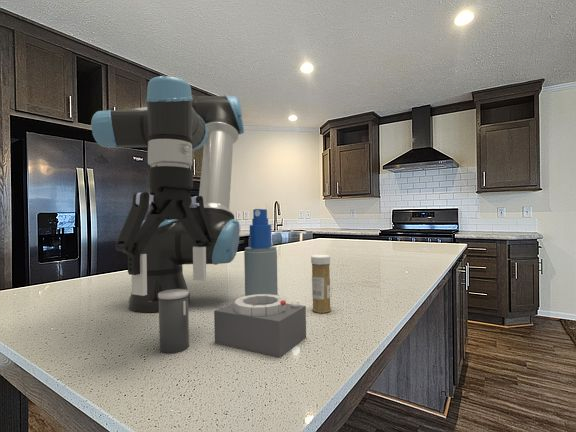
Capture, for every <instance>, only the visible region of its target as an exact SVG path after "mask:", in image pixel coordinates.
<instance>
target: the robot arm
mask: <svg viewBox="0 0 576 432" xmlns="http://www.w3.org/2000/svg"><path fill="white" fill-rule="evenodd" d="M145 101H146V104H147V105H146V106H145V107H136V108H131V109H119V110H112V109H107V110H98V111H96V112H95V113H94V114H93V115H92V118H91V121H90V122H91V123H90V127H91V132H92V133H91V134H92V136H93V139H94V140H95V142H96V143H97V144H98V145H99V146H101V147H103V148H113V149H114V148H115V149H119V148H121V149H122V148H147V164H148V165H149V166H151V167H150V168H148V170H147V172H148V173H147V176H148V177H147V178H148V180H147V181H148V182H147V183H148V185H147V186H148V188H149V189H150V194H149V192H145V191H143V192H134V193H133V196H132V206H131V207H130V211H129V212H128V215H127V217H126V220H125V222H124V224H123V226H122V229H121V232H120V234H119V236H118V238H117V240H116V243H115V245H114V249H115V251H118V252H122V253H123V254H125V255H127V273H128V275H131V293H130V296H129V298H128V299H129V300H128V308H129V310H130V311H134V312H138V313H139V312H140V313H150V312H151V313H156V312H158V313H159V298H158V293H159V292H162V291H165V290H171V289H185V290H188V291H189V289H188V286H187V283H186V279H185V277H184V272H183V265H192V273H193V274H192V278H193V279H192V280H193V281H201V282H206V281H207V265H216V266H217V265H222V264H229V263H231V262H233V261H234V259H235V257H236V255H237V253H238V248H239V243H240V229H241V228H240V222H239V220H237V219H236V218H235V214H234V212H232V211H231V210H230V205H231V204H230V203H231V185H232V184H231V183H232V172H233V171H232V169H233V168H232V167H233V151H234V150H233V149H234V148H233V147H234V144H235V143H236V142H238V140H239V135H242V134H244V132H245V128H244V126H245V125H244V119H243V113H242V112H243V111H242V107H241V102H240V99H239V97H237V96H236V95H227V94H224V95H223V96H221V95H205V96H204V95H198V96H197V95H196V96H195V95H192V87H191V85H190V84H189V82H187V81H186V80H184V79H182V78H180V77H176V76H170V75H160V76H156V77H153V78H150V80H149V81H148V84H147V90H146V99H145ZM202 147H203V151H202V153H203V154H202V163H201V174H200V182H199V183H200V184H199V191H198V195H195V196H193V195H192V196H191V193H190V192H191V190H192V189H193V188H194V176H193V174H194V172H193V170H192V169H191V167H193V151H196V150H199V149H201V148H202ZM149 206H151V209H150V211H149V212H148V210H149ZM147 212H148V213H147ZM145 218H146V219H145ZM190 295H191V293H190V292H189V295H188V304H190V302H191V296H190Z"/></svg>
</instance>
